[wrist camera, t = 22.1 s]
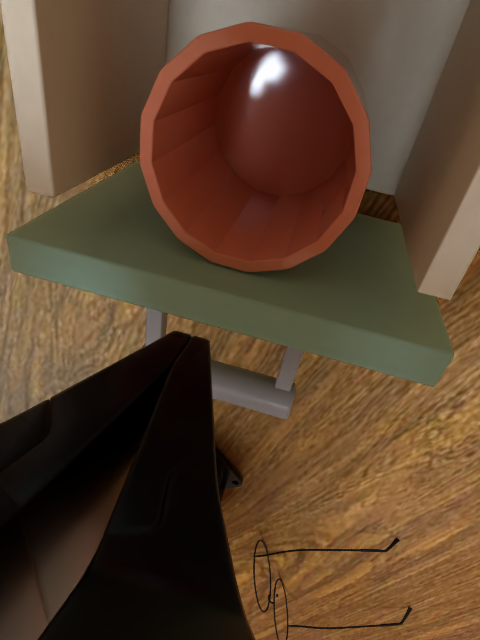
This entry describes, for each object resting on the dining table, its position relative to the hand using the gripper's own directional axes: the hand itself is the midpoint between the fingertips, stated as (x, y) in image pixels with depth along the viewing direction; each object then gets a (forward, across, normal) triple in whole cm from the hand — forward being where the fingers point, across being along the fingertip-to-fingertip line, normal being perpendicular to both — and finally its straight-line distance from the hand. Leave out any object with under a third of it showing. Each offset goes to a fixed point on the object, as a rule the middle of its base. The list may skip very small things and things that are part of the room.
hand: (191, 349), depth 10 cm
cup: (+10, 0, -4) cm, 10 cm away
